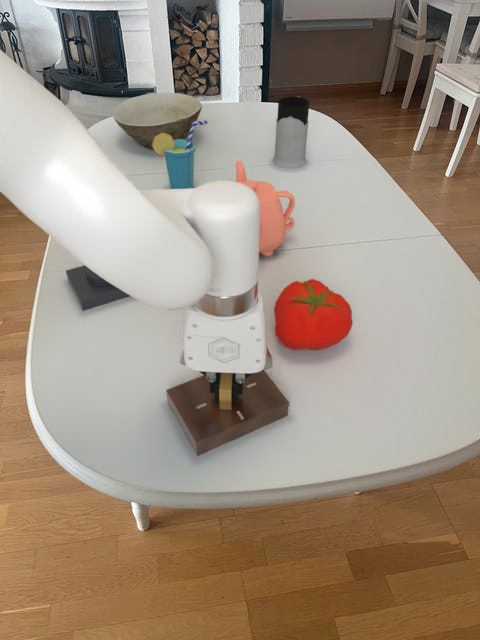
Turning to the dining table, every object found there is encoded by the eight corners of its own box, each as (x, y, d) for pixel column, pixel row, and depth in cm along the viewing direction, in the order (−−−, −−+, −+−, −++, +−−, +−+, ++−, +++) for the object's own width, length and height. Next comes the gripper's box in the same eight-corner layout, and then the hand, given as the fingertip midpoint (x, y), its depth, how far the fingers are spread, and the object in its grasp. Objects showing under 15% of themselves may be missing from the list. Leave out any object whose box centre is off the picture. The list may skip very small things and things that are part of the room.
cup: (199, 174, 129) (196, 113, 119) (218, 185, 125) (216, 123, 115) (151, 190, 123) (143, 127, 113) (169, 203, 118) (163, 138, 108)
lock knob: (231, 410, 70) (231, 389, 67) (219, 409, 70) (218, 388, 67) (233, 382, 74) (233, 361, 71) (222, 381, 74) (221, 361, 71)
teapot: (191, 249, 104) (187, 187, 95) (237, 214, 115) (238, 155, 106) (260, 276, 98) (263, 212, 89) (302, 236, 108) (308, 175, 99)
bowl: (101, 153, 138) (94, 116, 131) (140, 122, 155) (135, 87, 148) (184, 165, 133) (181, 126, 126) (214, 131, 150) (213, 95, 143)
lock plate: (197, 456, 68) (196, 441, 66) (167, 403, 75) (165, 389, 72) (287, 415, 73) (289, 401, 71) (252, 369, 80) (253, 355, 77)
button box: (82, 310, 90) (78, 292, 87) (67, 280, 96) (63, 262, 94) (148, 290, 94) (145, 272, 91) (129, 262, 101) (126, 245, 98)
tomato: (343, 374, 79) (351, 331, 73) (262, 357, 81) (264, 315, 76) (353, 316, 89) (361, 275, 83) (281, 303, 91) (284, 262, 86)
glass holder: (269, 166, 133) (272, 106, 123) (279, 144, 143) (283, 87, 133) (303, 169, 131) (309, 109, 121) (311, 147, 142) (317, 90, 132)
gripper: (150, 308, 57) (165, 414, 69) (294, 313, 56) (284, 419, 69) (162, 268, 63) (174, 372, 75) (293, 272, 62) (283, 377, 74)
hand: (226, 394), depth 72 cm, fingers closed on lock knob
